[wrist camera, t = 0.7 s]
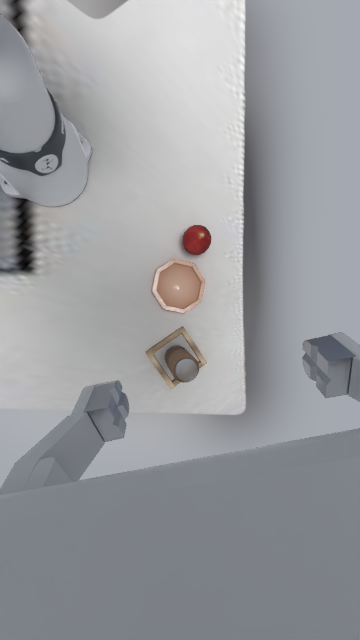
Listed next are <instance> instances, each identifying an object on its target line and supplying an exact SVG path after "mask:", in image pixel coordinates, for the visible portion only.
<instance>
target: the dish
mask: <svg viewBox="0 0 360 640" xmlns="http://www.w3.org/2000/svg"><path fill="white" fill-rule="evenodd" d="M204 281H205V280H204V278H203V276H202V275H201V273H200V272H199V270H198V268H197V267H196V265H195V264H194V263H191V262H186V261H182V260H178V259H173V260H171V261H169V262H168V263H166V264H165V265H163V266H162V267H160V268H159V269H157V270H156V272H155V277H154V282H153V287H152V291H153V292H152V293H153V295H154V296H155V298H156V299H157V301H158V302H159V304H160V305H161V307H162V308H163V309H165V310H170V311H175V312H180V313H186V312H187V311H189V310H190V309H192V308H193V307H194V306H196V305H197V304H199V303H200V302H201V301H202V297H203V292H204V287H205V282H204Z"/></svg>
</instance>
